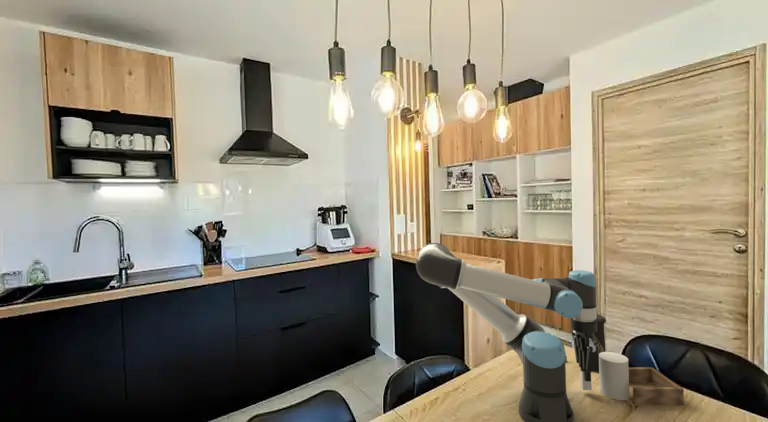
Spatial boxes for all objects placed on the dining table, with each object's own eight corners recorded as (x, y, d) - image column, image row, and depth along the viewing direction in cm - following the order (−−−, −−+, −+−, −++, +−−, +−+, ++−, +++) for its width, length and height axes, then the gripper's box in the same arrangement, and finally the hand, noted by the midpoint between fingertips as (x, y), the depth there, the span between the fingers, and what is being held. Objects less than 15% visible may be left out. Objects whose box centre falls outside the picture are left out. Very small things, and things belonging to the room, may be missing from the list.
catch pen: (635, 405, 109) (635, 389, 109) (610, 381, 123) (609, 367, 123) (683, 405, 108) (683, 389, 108) (652, 381, 122) (652, 367, 122)
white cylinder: (634, 400, 111) (633, 363, 111) (605, 399, 113) (604, 362, 113) (622, 387, 119) (621, 352, 119) (595, 385, 121) (594, 351, 121)
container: (583, 371, 131) (582, 318, 130) (578, 360, 140) (576, 310, 139) (610, 373, 128) (609, 319, 128) (603, 362, 137) (601, 311, 136)
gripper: (606, 325, 109) (609, 399, 110) (585, 311, 122) (588, 378, 123) (581, 325, 110) (584, 400, 111) (563, 312, 123) (565, 379, 124)
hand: (586, 388), depth 117 cm, fingers closed
